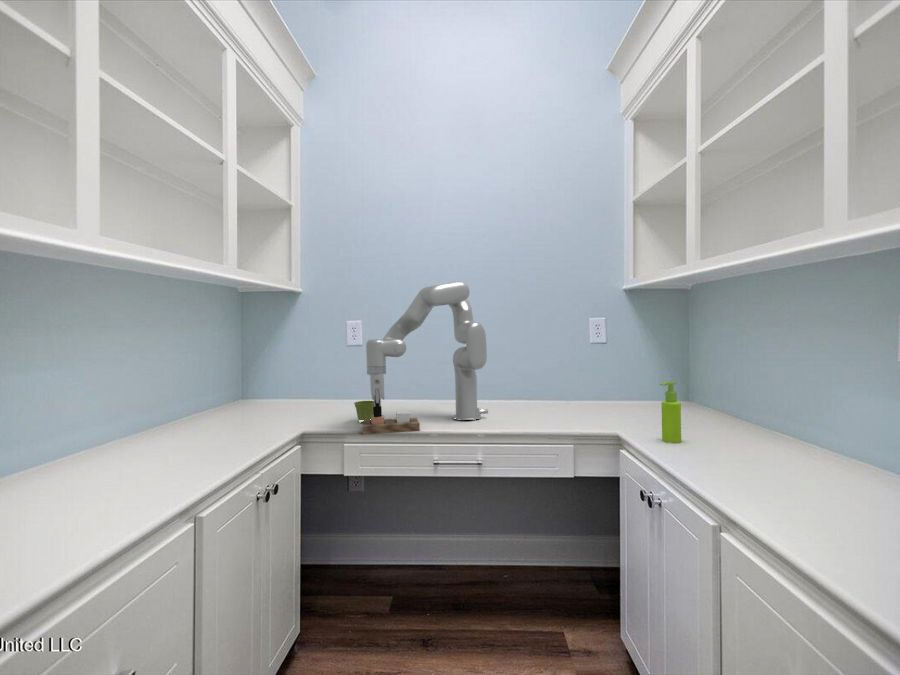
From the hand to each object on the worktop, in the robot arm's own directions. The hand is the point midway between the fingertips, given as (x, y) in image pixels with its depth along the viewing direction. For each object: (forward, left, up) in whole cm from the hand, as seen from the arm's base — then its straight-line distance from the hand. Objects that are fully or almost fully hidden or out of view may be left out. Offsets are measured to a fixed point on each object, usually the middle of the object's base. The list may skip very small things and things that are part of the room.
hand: (377, 416), depth 182 cm
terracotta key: (0, 0, -4) cm, 4 cm away
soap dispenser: (-97, +45, -6) cm, 107 cm away
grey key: (-10, 0, -3) cm, 11 cm away
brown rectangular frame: (-5, 0, -6) cm, 8 cm away
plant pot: (+5, -18, -6) cm, 20 cm away
